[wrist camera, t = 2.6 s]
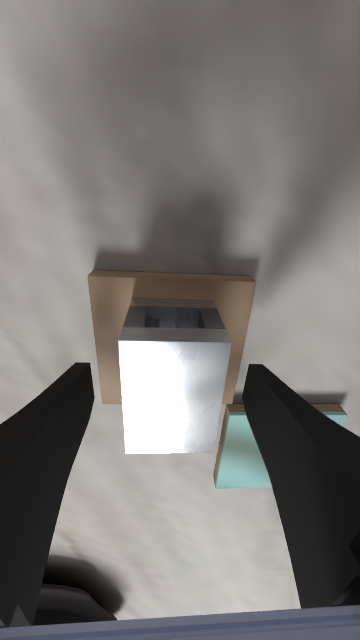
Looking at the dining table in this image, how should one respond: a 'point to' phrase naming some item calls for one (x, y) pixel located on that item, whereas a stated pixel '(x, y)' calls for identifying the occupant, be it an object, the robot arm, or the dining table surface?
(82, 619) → the casserole
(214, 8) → the dining table surface
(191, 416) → the box
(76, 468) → the dining table surface
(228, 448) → the stand
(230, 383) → the stand
